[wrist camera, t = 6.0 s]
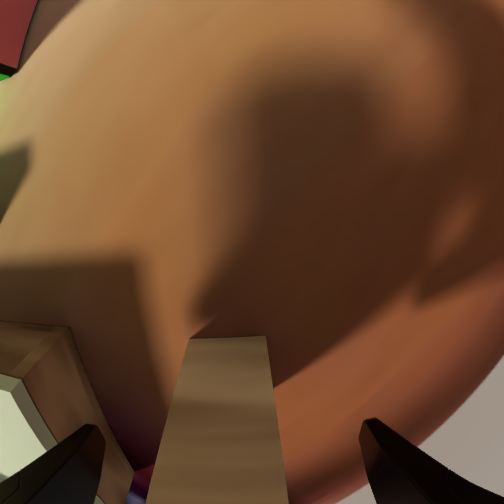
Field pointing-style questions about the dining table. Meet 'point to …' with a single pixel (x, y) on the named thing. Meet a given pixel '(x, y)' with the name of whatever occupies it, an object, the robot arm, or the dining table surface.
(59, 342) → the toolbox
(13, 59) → the puzzle cube
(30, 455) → the lid
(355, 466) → the dining table surface
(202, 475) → the oak block
